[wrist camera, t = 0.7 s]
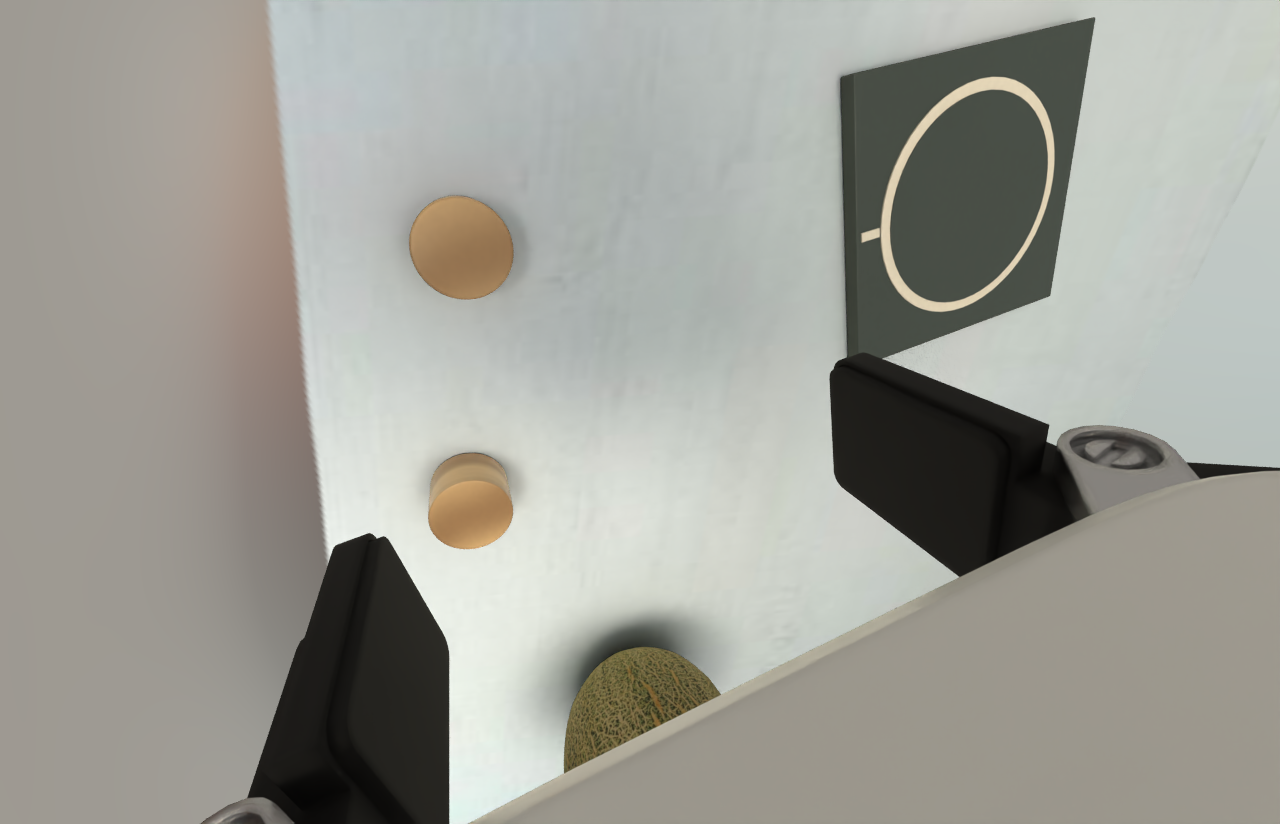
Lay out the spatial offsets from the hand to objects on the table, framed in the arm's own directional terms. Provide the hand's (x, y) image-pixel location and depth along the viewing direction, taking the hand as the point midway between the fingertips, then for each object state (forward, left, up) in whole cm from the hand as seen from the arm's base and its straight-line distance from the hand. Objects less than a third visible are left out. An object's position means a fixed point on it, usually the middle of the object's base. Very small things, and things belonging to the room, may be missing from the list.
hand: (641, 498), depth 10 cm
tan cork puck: (-4, -2, -18) cm, 18 cm away
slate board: (+1, +27, -18) cm, 32 cm away
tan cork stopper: (+8, -6, -18) cm, 20 cm away
